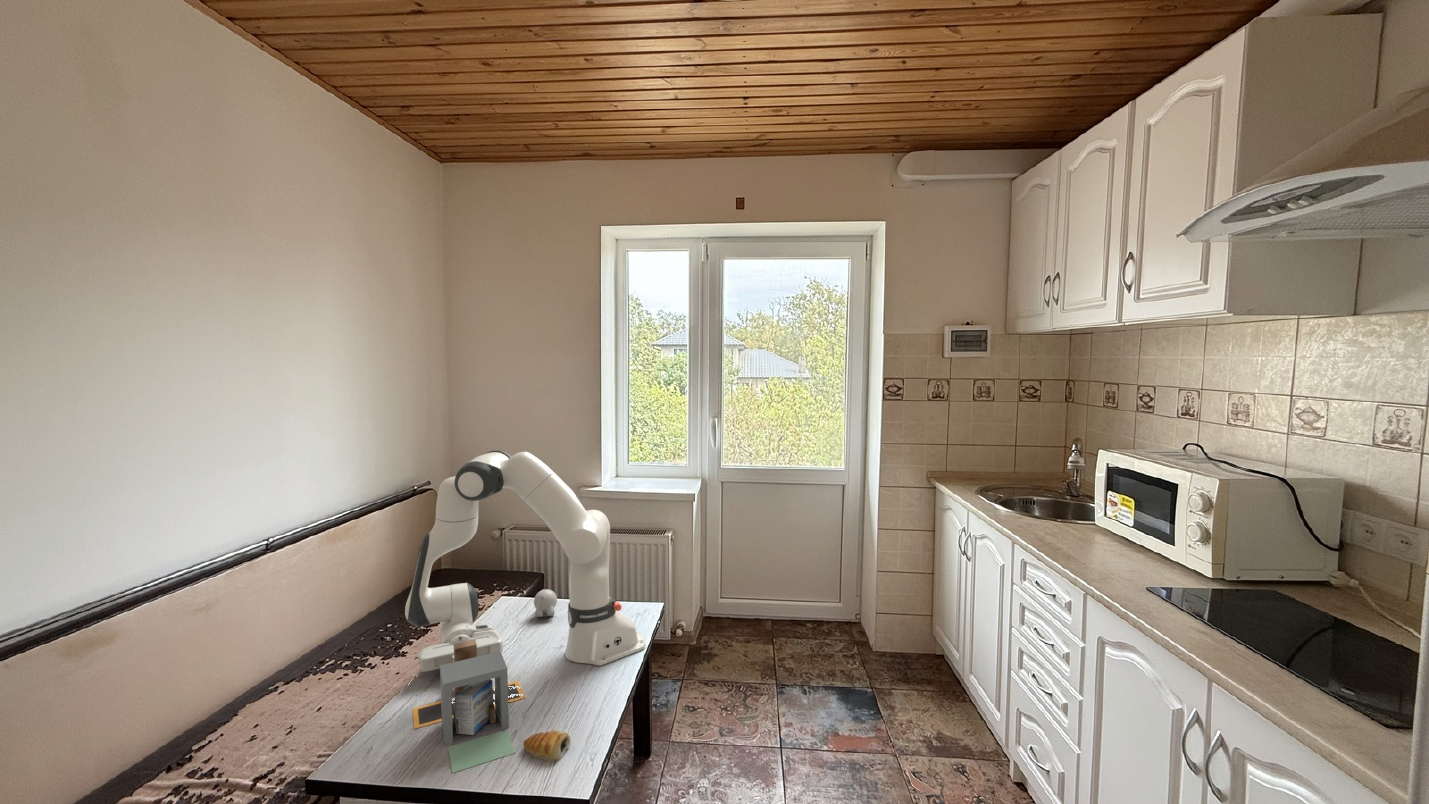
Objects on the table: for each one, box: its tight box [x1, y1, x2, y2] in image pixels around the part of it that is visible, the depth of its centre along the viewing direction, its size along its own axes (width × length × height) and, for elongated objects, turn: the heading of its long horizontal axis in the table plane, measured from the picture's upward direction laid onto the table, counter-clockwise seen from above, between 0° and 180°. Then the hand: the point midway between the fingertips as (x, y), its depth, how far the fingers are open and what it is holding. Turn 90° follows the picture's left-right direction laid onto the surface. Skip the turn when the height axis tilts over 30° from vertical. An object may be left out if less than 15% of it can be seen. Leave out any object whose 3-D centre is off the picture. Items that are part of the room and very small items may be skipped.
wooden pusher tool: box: [453, 640, 496, 734], centre depth 136 cm, size 8×20×11 cm, turn 29°
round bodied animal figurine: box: [533, 588, 558, 618], centre depth 189 cm, size 7×12×8 cm, turn 10°
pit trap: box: [412, 680, 526, 730], centre depth 138 cm, size 24×9×1 cm, turn 119°
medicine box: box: [454, 679, 494, 736], centre depth 129 cm, size 8×4×9 cm, turn 168°
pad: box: [447, 729, 516, 774], centre depth 121 cm, size 12×9×1 cm
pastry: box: [523, 729, 571, 762], centre depth 121 cm, size 9×7×4 cm
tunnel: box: [439, 651, 510, 747], centre depth 129 cm, size 13×9×14 cm
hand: (464, 664), depth 147 cm, fingers closed
